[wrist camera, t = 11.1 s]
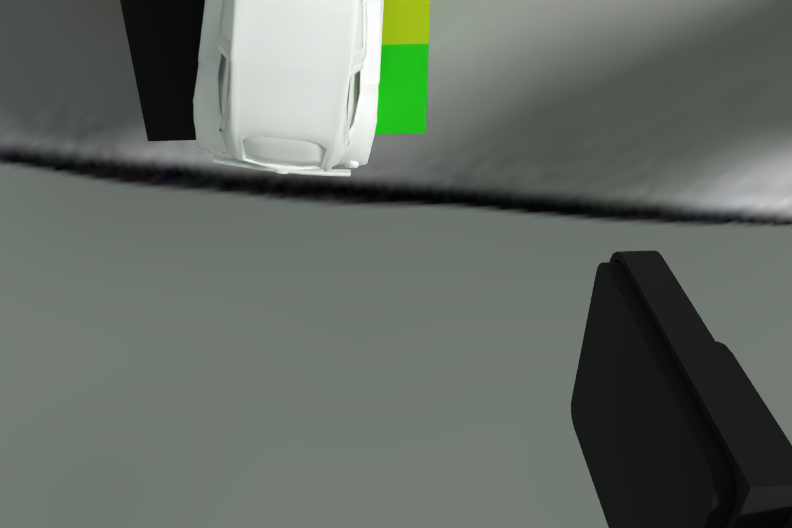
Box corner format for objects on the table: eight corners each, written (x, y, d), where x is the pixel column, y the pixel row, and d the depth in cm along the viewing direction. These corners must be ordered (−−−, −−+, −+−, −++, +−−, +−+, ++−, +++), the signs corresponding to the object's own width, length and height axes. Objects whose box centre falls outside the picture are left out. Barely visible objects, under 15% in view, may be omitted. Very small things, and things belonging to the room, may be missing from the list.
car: (367, 161, 28) (375, 228, 25) (196, 143, 27) (176, 210, 24) (425, -212, 22) (447, -200, 18) (201, -254, 21) (174, -250, 17)
